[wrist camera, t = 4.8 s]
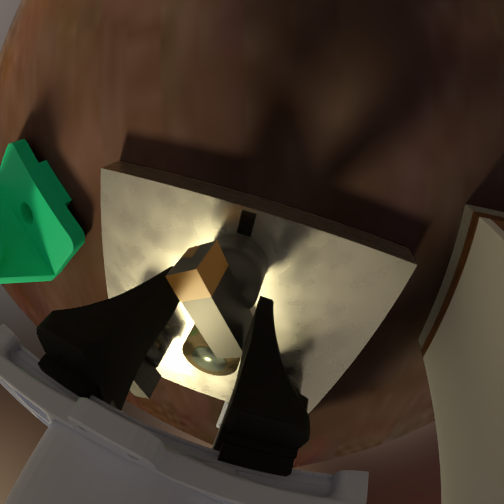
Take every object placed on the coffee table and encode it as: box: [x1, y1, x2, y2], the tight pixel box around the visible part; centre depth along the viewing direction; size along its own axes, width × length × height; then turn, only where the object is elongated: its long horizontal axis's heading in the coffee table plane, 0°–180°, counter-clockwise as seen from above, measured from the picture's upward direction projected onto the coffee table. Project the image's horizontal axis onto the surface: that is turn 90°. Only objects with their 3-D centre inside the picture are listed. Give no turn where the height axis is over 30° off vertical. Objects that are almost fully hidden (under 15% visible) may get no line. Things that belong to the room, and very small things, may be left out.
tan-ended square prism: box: [165, 235, 267, 359], centre depth 15 cm, size 5×4×5 cm
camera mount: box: [0, 139, 85, 284], centre depth 17 cm, size 12×8×10 cm, turn 36°
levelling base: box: [101, 161, 417, 414], centre depth 19 cm, size 20×20×7 cm
